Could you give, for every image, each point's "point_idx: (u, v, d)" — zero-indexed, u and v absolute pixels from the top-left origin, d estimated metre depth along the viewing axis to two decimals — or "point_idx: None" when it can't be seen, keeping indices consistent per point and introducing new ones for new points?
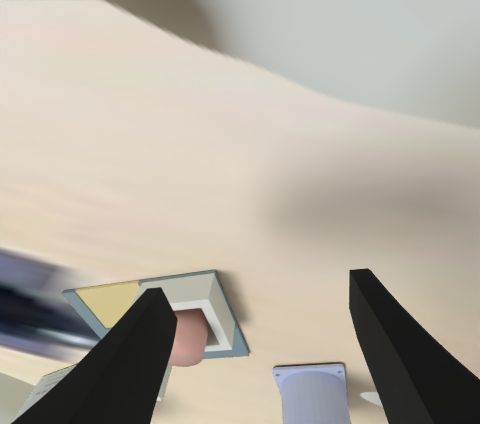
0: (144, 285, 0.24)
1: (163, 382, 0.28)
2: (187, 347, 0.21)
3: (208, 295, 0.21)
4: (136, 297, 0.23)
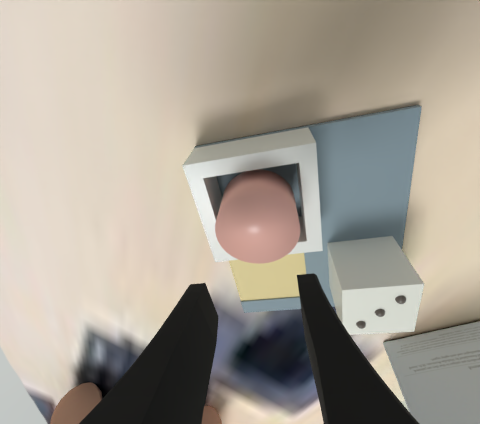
0: None
1: (398, 268, 0.17)
2: (242, 215, 0.13)
3: (184, 164, 0.15)
4: None
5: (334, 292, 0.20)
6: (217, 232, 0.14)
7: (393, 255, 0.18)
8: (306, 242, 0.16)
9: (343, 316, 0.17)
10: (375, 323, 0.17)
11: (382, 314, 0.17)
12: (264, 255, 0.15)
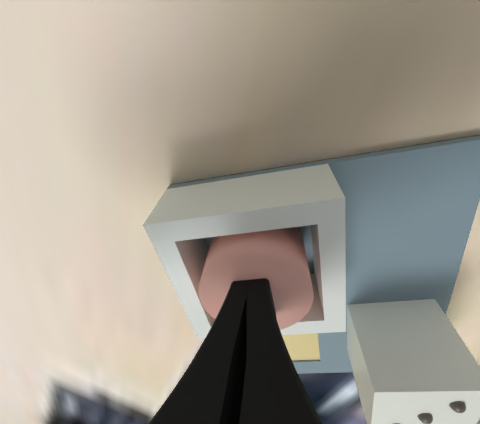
0: None
1: (452, 357, 0.12)
2: (234, 277, 0.10)
3: (148, 220, 0.10)
4: None
5: (356, 370, 0.15)
6: (201, 296, 0.10)
7: (441, 333, 0.13)
8: (323, 321, 0.12)
9: (373, 418, 0.13)
10: None
11: (429, 422, 0.12)
12: None
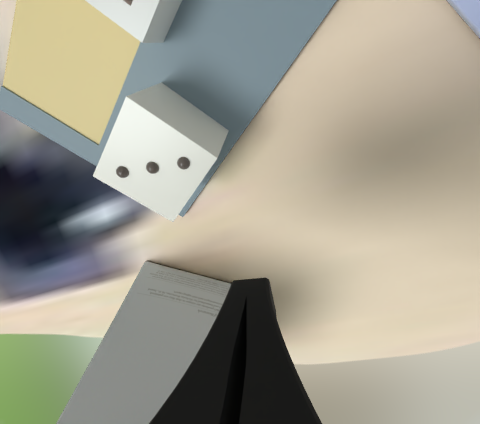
0: None
1: (207, 138, 0.13)
2: None
3: None
4: None
5: None
6: None
7: (213, 133, 0.14)
8: (129, 7, 0.11)
9: (107, 144, 0.12)
10: (139, 182, 0.13)
11: (152, 168, 0.12)
12: None
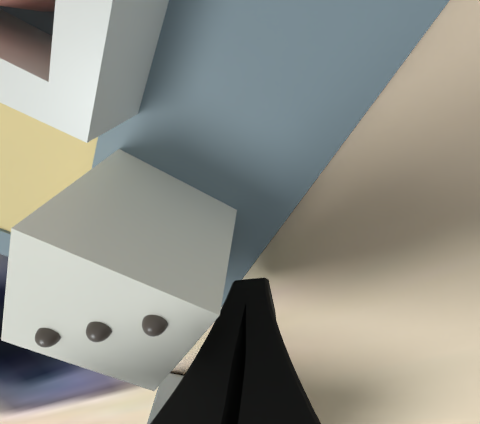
0: None
1: (199, 259, 0.07)
2: None
3: None
4: None
5: None
6: None
7: (211, 234, 0.08)
8: (45, 85, 0.05)
9: (7, 300, 0.06)
10: (83, 347, 0.07)
11: (97, 338, 0.06)
12: None
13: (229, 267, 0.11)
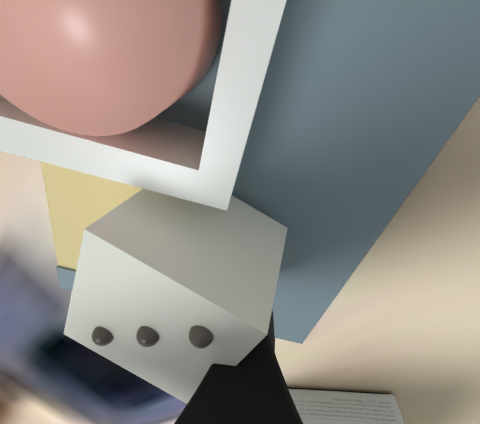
0: None
1: (249, 273, 0.07)
2: None
3: None
4: None
5: None
6: None
7: (261, 250, 0.08)
8: (196, 173, 0.06)
9: (73, 297, 0.07)
10: (132, 351, 0.07)
11: (146, 342, 0.07)
12: (72, 104, 0.05)
13: (325, 285, 0.12)
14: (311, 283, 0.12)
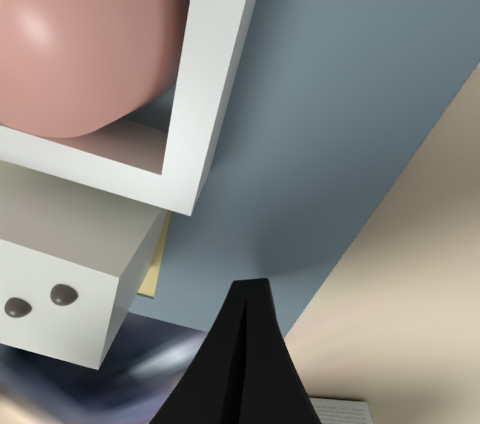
0: None
1: (112, 229, 0.07)
2: None
3: None
4: None
5: None
6: None
7: (135, 208, 0.08)
8: (159, 178, 0.06)
9: None
10: (14, 327, 0.07)
11: (13, 313, 0.07)
12: (27, 105, 0.05)
13: (297, 291, 0.12)
14: (284, 290, 0.12)
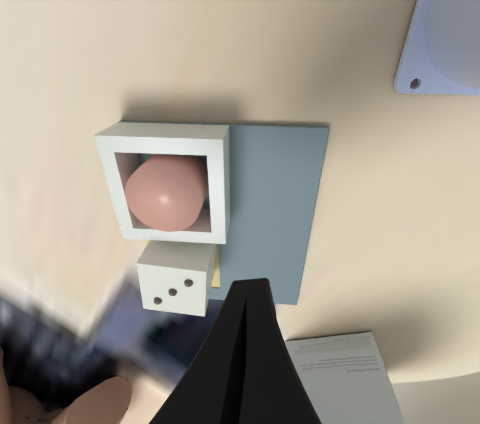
0: None
1: (198, 256, 0.18)
2: (150, 182, 0.15)
3: None
4: None
5: None
6: (127, 195, 0.15)
7: (203, 245, 0.19)
8: (211, 233, 0.17)
9: (141, 289, 0.18)
10: (170, 302, 0.19)
11: (172, 293, 0.18)
12: (168, 224, 0.16)
13: (293, 267, 0.22)
14: (286, 267, 0.22)
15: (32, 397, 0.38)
